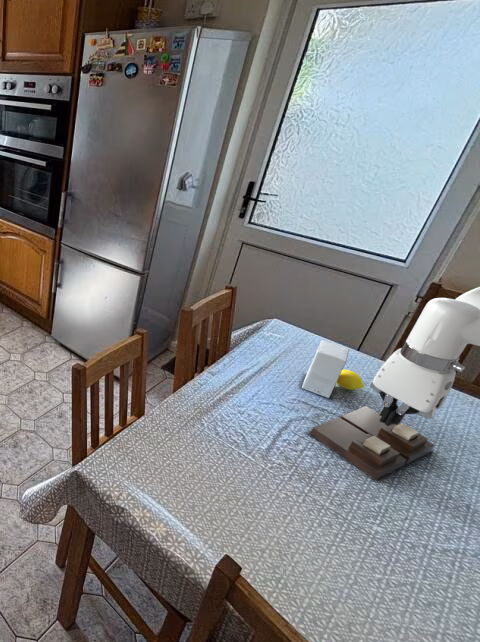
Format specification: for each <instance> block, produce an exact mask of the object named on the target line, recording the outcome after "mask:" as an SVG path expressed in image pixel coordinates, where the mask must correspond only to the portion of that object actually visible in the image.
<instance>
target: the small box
mask: <svg viewBox="0 0 480 642" xmlns="http://www.w3.org/2000/svg"><path fill="white" fill-rule="evenodd" d="M349 353H350V348H348V347H345V346H342V345H339V344H336V343H333V342H330V341H326V340H323V339H322V340H321V341H320V343H319V346H318V348H317V350H316V352H315V354H314V357H313V358H312V361H311V363H310V366H309V368H308V370H307V372H306V375H305V376H304V377H305V378H304V379H303V383H302V386H301V388H302V389H304V390H306V391H309V392H311V393H314V394H317V395H319V396H322V397H325V398H327V399H330V397H331V395H332V393H333V391H334V389H335V386H336V385H337V383H336V382H337V380H338V378H339V376H340V374H341V372H342V370H344V368H345V365H346V363H347V361H348V356H349Z"/></svg>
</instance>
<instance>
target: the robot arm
mask: <svg viewBox="0 0 480 642" xmlns="http://www.w3.org/2000/svg"><path fill="white" fill-rule="evenodd" d="M467 345H474V346H477V347H480V286H477V287H476V288H473V289H471V290H469V291H467V292H464V293H463V294H461V295H459V296H458V297H456V298H455V299H454V298H447V297H436V298H432V299H430V300H429V301H428V302H427V303H426V304H425V306H424V308H423V309H422V311H421V313H420V315H419V317H418V318H417V320H416V322H415V324H414V326H413V327H412V329H411V330H410V333H409V334H408V337H407V338H406V340H405V342H404V343H403V345H402V347H401V348H397V349H396V350H395V351H394V352H392V354H391V355H390V356H389V357H388V358H387V359H386V361H384V363H383V364H382V365H381V367H380V368H379V370H378V371H377V373H376V374H375V376H374V378H373V380H372V383H371V384H370V385H369V387H370V388H371V389H372V390H374V391H375V392H376V393H377V394H379V396H380V398H381V400H382V405H383V408H382V409H381V412H380V413H379V414H380V416H382V417H381V419H380V422H382V423H385V425H387V426H390V425H392V424H396V425H397V424H399V423H401V422H402V420H403V418H404V417H405V415H417V416H420V417H422V418H425V419H428V420H431V419H433V418H435V415H436V410H439V409H440V408H442V406H443V405H444V404H445V401H446V400H447V398H448V396H449V394H450V392H451V390H452V386H453V384H454V382H455V378H456V375H457V372H459V373H462V372H463V371H464V370H465V369H466V366H465V365H463V364H461V363H459V360H460V356H461V354H462V353H463V352H464V350H465V348H466V347H467ZM398 402H401V403H402V404H401V405H400V406H399V405H398Z"/></svg>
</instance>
